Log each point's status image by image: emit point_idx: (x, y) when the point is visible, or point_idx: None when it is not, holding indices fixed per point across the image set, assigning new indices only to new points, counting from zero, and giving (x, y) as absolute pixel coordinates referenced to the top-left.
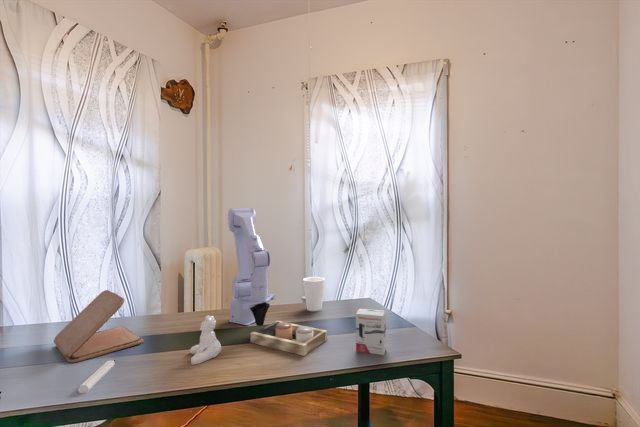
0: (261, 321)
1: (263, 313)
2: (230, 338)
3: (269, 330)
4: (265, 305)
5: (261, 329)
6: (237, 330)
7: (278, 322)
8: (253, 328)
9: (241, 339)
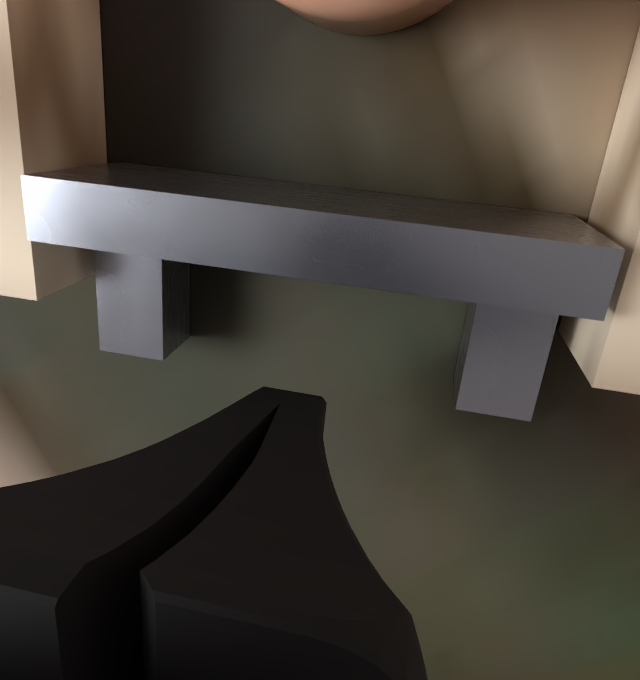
0: (310, 423)
1: (201, 497)
2: (564, 616)
3: (339, 204)
4: (59, 633)
5: (520, 280)
6: None
7: (57, 180)
8: None
9: (556, 495)
